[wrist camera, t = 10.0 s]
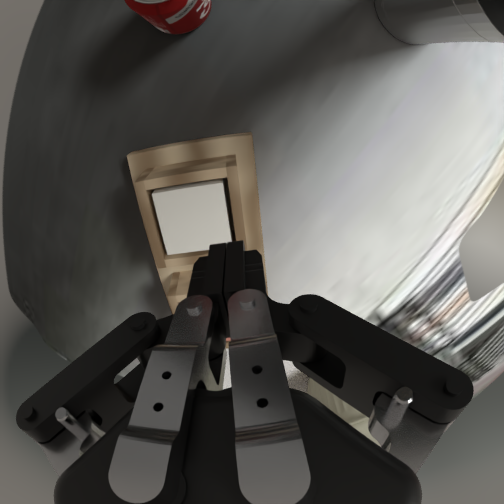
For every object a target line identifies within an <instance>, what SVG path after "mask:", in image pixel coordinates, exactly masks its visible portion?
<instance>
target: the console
mask: <svg viewBox="0 0 504 504" xmlns="http://www.w3.org/2000/svg"><path fill="white" fill-rule="evenodd" d="M127 159H128V164H129V168H130V172H131V177H132V181H133V185H134V189H135V193H136V197H137V201H138V205H139V209H140V212H141V216H142V220H143V223H144V227H145V230H146V234H147V237H148V241H149V244H150V248H151V251H152V254H153V257H154V261H155V264H156V267H157V270H158V273H159V276H160V280H161V283H162V286H163V289H164V292H165V295H166V297H167V300H168V303H169V306H170V309H171V312H172V315H173V314H174V313H175V310H176V307H177V305H178V304H179V303H180V302H181V301H182V300H183V299H185V298H187V293H188V288H189V284H190V279H191V274H192V270H193V265H194V263H195V262H196V261H197V260H198V258H199V257H203V256H208V252H209V250H203V251H195V252H188V253H180V254H172V255H167V251H166V247H165V244H164V240H163V236H162V233H161V229H160V225H159V221H158V217H157V213H156V209H155V205H154V201H153V197H152V193H153V191H154V190H155V189H156V188H161V187H167V186H173V185H179V184H185V183H191V182H198V181H205V180H211V179H219V178H224V183H225V190H226V197H227V204H228V211H229V217H230V224H231V231H232V241H240V240H243V241H244V245H245V251H248V250H257V251H258V252H259V253H260V254H261V255H262V260H263V267H264V275H265V282H266V291H267V295H268V290H267V280H266V269H265V258H264V248H263V237H262V227H261V217H260V207H259V197H258V187H257V177H256V167H255V158H254V148H253V139H252V133H251V132H245V133H237V134H229V135H221V136H214V137H207V138H201V139H195V140H189V141H183V142H177V143H172V144H167V145H161V146H156V147H151V148H147V149H142V150H138V151H133V152H131V153H130V154H128V155H127ZM229 342H231V340H230V341H226V348H229V345H228V344H229Z"/></svg>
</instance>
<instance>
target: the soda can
mask: <svg viewBox="0 0 504 504" xmlns="http://www.w3.org/2000/svg"><path fill="white" fill-rule="evenodd" d="M125 2H126V4H127V5H128V6H129V7H130V8H131V9H132V10H134V11H135V12H136V13H138V14H139V15H140V16H142V17H143V18H144V19H146V20H147V21H148V22H149V23H151V24H152V25H153V26H155V27H156V28H157V29H159V30H160V31H162V32H165V33H168V34H183V33H187V32H190V31H192V30H194V29H196V28H198V27H199V26H200V25H202V24H203V23H204V21H205V20H206V19H207V17H208V16H209V14H210V11H211V0H125Z"/></svg>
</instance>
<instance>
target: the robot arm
mask: <svg viewBox="0 0 504 504" xmlns="http://www.w3.org/2000/svg"><path fill="white" fill-rule="evenodd" d="M375 8H376V12H377V15H378V17H379V19H380V21H381V22H382V24H383V26H384V27H385V28H386V29H387V30H388V31H389V32H390V33H391V34H392V35H393V36H394V37H396V38H397V39H399V40H400V41H403V42H405V43H408V44H413V45H415V44H429V43H446V42H501V43H504V0H375ZM226 338H230V339H231V342H229V344H228V345H229V360H230V373H231V385H232V387H231V388H227V389H224V390H223V381H224V373H225V365H226V357H227V351H226ZM136 358H138V360H139V362H140V364H139V365H137V366H136V367H135V368H134V369H133V370H132V371H131V372H129V373H128V374H127V375H126V376H125V377H124V378H122V379H121V380H120V381H119V382H118V383H116V384H114V378H115V376H116V375H117V374H118V373H119V372H120V371H122V370H123V369H124V368H125V367H126V366H127V365H129V364H130V363H131V362H132V361H133V360H135V359H136ZM283 360H287V361H292V362H293V364H294V366H295V367H296V368H297V369H299V370H300V371H302V372H303V373H304V374H306V375H307V376H308V377H310V378H311V379H313V380H314V381H315V382H317V383H318V384H320V385H321V386H323V387H324V388H325V389H327V390H328V391H330V392H331V393H333V394H334V395H335V396H337V397H338V398H340V399H341V400H343V401H344V402H346V403H347V404H349V405H350V406H352V407H353V408H355V409H356V410H358V411H359V412H361V413H362V414H364V415H365V416H367V417H368V418H369V421H368V429H369V432H370V434H371V435H372V437H373V438H374V439H376V440H377V441H378V443H379V444H380V446H381V447H380V446H379V445H377V444H376V443H374V442H373V441H372V440H370V439H369V438H367V437H366V436H365V435H363V434H362V433H361V432H359V431H358V430H356V429H355V428H354V427H352V426H351V425H350V424H348V423H347V422H346V421H344V420H343V419H342V418H340V417H339V416H338V415H337V414H335V413H334V412H333V411H331V410H330V409H329V408H327V407H326V406H325V405H324V404H322V403H321V402H320V401H318V400H317V399H316V398H314V397H312V396H311V395H309V394H307V393H304V392H302V391H299V390H296V389H291V388H289V385H288V381H287V377H286V373H285V368H284V364H283ZM473 391H474V390H473V384H472V382H471V380H470V378H469V377H468V376H467V375H466V374H465V373H463V372H462V371H460V370H458V369H456V368H454V367H452V366H450V365H448V364H446V363H445V362H443V361H441V360H439V359H437V358H435V357H433V356H431V355H429V354H427V353H426V352H424V351H422V350H420V349H418V348H416V347H414V346H412V345H411V344H409V343H407V342H405V341H403V340H401V339H399V338H397V337H395V336H394V335H392V334H390V333H388V332H386V331H384V330H382V329H380V328H379V327H377V326H375V325H373V324H371V323H369V322H367V321H365V320H364V319H362V318H360V317H358V316H356V315H354V314H352V313H351V312H349V311H347V310H345V309H343V308H341V307H339V306H337V305H336V304H334V303H332V302H330V301H328V300H326V299H324V298H323V297H320V296H318V295H312V294H307V295H302V296H299V297H297V298H295V299H294V300H292V302H291V303H290V304H282V303H278V302H275V301H273V300H271V299H270V298H269V297H268V295H267V291H266V282H265V275H264V267H263V260H262V255H261V254H260V253H259V252H258V251H257V250H248V251H245V245H244V241H243V240H240V241H232V242H227V243H226V242H225V243H218V244H211V245H210V246H209V252H208V256H203V257H199V258H198V260H197V261H196V262H195V263H194V265H193V270H192V274H191V279H190V284H189V288H188V293H187V298H185V299H183V300H182V301H181V302H180V303H179V304H178V305H177V307H176V310H175V313H174V314H173V315H171V316H168V317H165V318H162V319H159V320H156V318H155V316H154V315H153V314H151V313H148V312H140V313H136V314H134V315H132V316H130V317H129V318H128V319H126V320H125V321H124V322H123V323H121V324H120V325H119V326H117V327H116V328H115V329H114V330H112V331H111V332H110V333H109V334H107V335H106V336H105V337H104V338H102V339H101V340H100V341H98V342H97V343H96V344H95V345H93V346H92V347H91V348H90V349H88V350H87V351H86V352H85V353H83V354H82V355H81V356H80V357H78V358H77V359H76V360H75V361H73V362H72V363H71V364H70V365H69V366H67V367H66V368H65V369H64V370H62V371H61V372H60V373H59V374H57V375H56V376H55V377H54V378H53V379H52V380H50V381H49V382H48V383H46V384H45V385H44V386H43V387H42V388H40V389H39V390H38V391H37V392H36V393H35V394H33V395H32V396H31V397H30V398H28V399H27V400H26V401H25V402H24V403H23V404H22V405H21V406H20V408H19V409H18V411H17V415H16V421H17V424H18V426H19V428H20V429H22V430H23V431H24V432H25V433H26V434H28V435H29V436H30V437H31V438H33V440H34V441H35V442H36V443H38V444H39V445H40V446H41V447H42V449H43V451H44V453H45V455H46V456H47V458H48V460H49V461H50V463H51V465H52V466H53V468H54V470H55V471H56V473H57V474H58V476H59V479H58V480H57V482H56V486H55V490H54V502H55V504H421V500H422V490H421V485H420V482H419V480H418V477H417V476H416V473H417V472H418V470H419V469H420V468H421V466H422V465H423V463H424V462H425V460H426V459H427V457H428V456H429V454H430V453H431V451H432V450H433V448H434V447H435V445H436V443H437V442H438V441H439V439H440V437H441V436H442V434H443V433H444V432H445V431H446V430H447V428H448V427H449V426H450V425H451V424H452V423H453V422H454V420H455V419H456V418H457V417H458V416H459V415H460V413H461V412H462V411H463V410H464V408H465V407H466V406H467V405H468V403H469V402H470V401H471V399H472V397H473Z"/></svg>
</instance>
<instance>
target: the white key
mask: <svg viewBox="0 0 504 504" xmlns="http://www.w3.org/2000/svg"><path fill="white" fill-rule="evenodd" d="M152 197H153V201H154V205H155V209H156V213H157V217H158V221H159V225H160V229H161V233H162V236H163V240H164V244H165V247H166V251H167V255H172V254H180V253H188V252H195V251H203V250H209V246H210V245H211V244H218V243H225V242H226V243H227V242H232V231H231V224H230V217H229V211H228V204H227V197H226V190H225V183H224V178H219V179H211V180H205V181H198V182H191V183H185V184H179V185H173V186H167V187H161V188H156V189H155V190H154V191H153V193H152Z"/></svg>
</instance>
